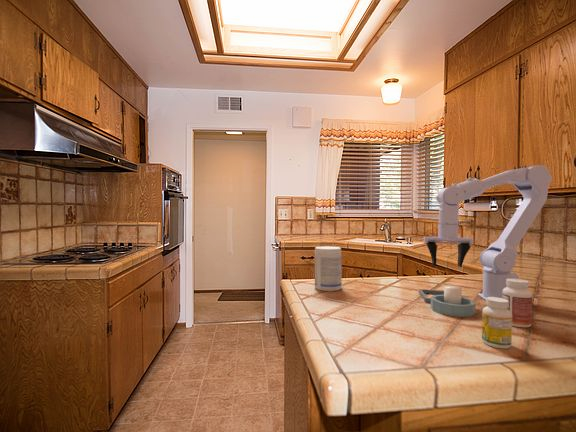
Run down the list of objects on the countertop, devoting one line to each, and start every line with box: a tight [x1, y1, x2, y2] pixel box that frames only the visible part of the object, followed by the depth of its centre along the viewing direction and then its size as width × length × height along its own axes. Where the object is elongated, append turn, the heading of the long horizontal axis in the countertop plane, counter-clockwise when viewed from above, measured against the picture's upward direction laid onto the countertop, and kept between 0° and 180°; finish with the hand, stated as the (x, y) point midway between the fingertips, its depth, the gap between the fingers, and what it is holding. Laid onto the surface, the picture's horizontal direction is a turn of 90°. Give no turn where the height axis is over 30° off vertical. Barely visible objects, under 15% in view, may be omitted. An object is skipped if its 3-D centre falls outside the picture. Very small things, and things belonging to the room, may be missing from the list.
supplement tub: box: [314, 245, 343, 292], centre depth 115 cm, size 10×10×15 cm
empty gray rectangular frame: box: [418, 288, 464, 304], centre depth 104 cm, size 12×12×1 cm
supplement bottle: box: [481, 297, 513, 350], centre depth 69 cm, size 5×5×10 cm
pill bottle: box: [502, 278, 533, 328], centre depth 81 cm, size 6×6×11 cm
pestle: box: [443, 284, 463, 305], centre depth 91 cm, size 4×4×6 cm
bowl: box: [429, 294, 477, 318], centre depth 91 cm, size 11×11×3 cm
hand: (446, 265), depth 105 cm, fingers open, 7 cm apart
